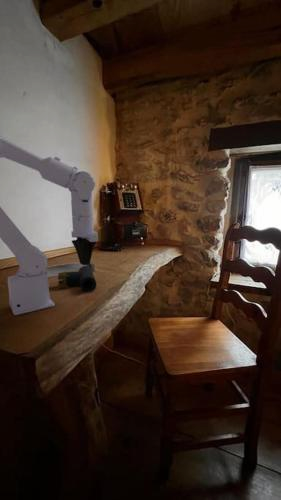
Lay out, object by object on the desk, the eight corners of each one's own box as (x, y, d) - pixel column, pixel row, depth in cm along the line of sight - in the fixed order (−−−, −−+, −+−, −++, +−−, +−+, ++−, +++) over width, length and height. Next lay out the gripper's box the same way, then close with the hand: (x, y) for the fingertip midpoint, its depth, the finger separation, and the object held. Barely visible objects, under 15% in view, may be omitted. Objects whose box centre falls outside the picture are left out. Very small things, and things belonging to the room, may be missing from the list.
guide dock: (43, 280, 84) (42, 269, 83) (40, 277, 87) (39, 267, 86) (94, 271, 95) (94, 261, 95) (90, 269, 99) (90, 260, 98)
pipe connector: (56, 278, 68) (59, 267, 82) (57, 295, 69) (59, 281, 83) (96, 275, 71) (91, 265, 85) (96, 292, 72) (92, 279, 86)
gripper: (107, 216, 61) (109, 266, 63) (85, 216, 73) (88, 258, 75) (82, 217, 57) (84, 270, 59) (63, 216, 68) (66, 261, 71)
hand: (85, 264), depth 67 cm, fingers closed
